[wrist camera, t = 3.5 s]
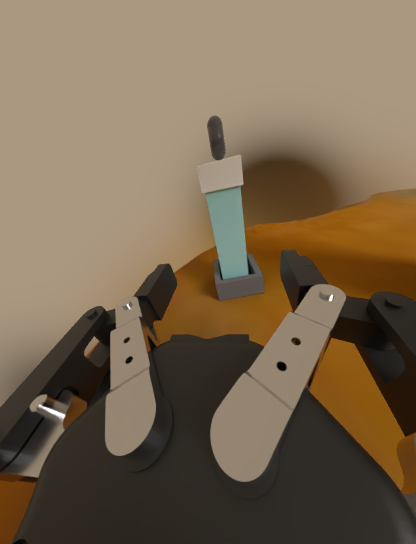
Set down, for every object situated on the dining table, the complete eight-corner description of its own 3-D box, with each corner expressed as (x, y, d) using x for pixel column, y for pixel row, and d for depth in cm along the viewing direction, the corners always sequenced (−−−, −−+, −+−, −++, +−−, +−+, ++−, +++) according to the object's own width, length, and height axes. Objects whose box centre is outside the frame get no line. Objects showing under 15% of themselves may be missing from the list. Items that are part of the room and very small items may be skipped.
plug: (250, 274, 27) (236, 113, 16) (252, 291, 23) (236, 102, 13) (224, 276, 28) (195, 126, 17) (223, 293, 24) (186, 119, 14)
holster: (252, 268, 28) (251, 253, 26) (264, 292, 23) (263, 275, 21) (216, 275, 29) (212, 260, 27) (219, 300, 23) (215, 284, 22)
